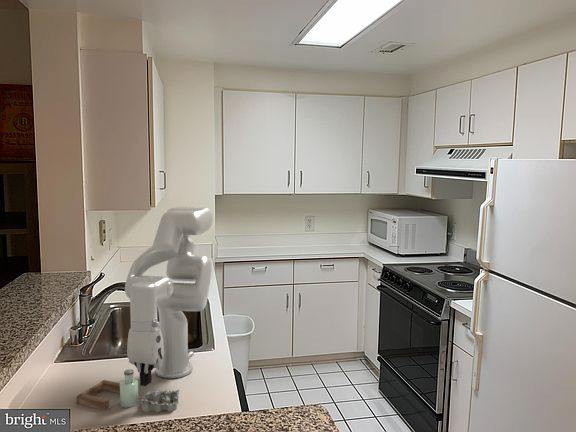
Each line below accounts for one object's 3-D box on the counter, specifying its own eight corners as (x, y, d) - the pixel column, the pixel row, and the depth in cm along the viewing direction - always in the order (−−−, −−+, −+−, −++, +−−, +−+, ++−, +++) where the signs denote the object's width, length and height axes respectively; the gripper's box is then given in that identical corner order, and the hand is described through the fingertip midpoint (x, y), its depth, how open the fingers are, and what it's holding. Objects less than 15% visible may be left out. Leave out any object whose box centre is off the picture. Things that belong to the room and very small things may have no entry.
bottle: (127, 397, 140) (127, 366, 139) (141, 400, 138) (141, 369, 138) (116, 405, 135) (115, 373, 134) (130, 408, 134) (130, 376, 133)
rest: (104, 386, 147) (104, 379, 147) (131, 392, 144) (130, 385, 143) (76, 403, 136) (76, 396, 136) (104, 410, 133) (104, 402, 133)
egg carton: (138, 413, 131) (138, 400, 131) (145, 400, 139) (145, 388, 139) (175, 413, 132) (175, 399, 132) (180, 400, 139) (180, 387, 139)
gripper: (173, 323, 134) (174, 382, 135) (131, 317, 138) (132, 375, 140) (158, 331, 127) (159, 394, 128) (114, 325, 131) (116, 385, 133)
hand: (145, 384), depth 134 cm, fingers closed
